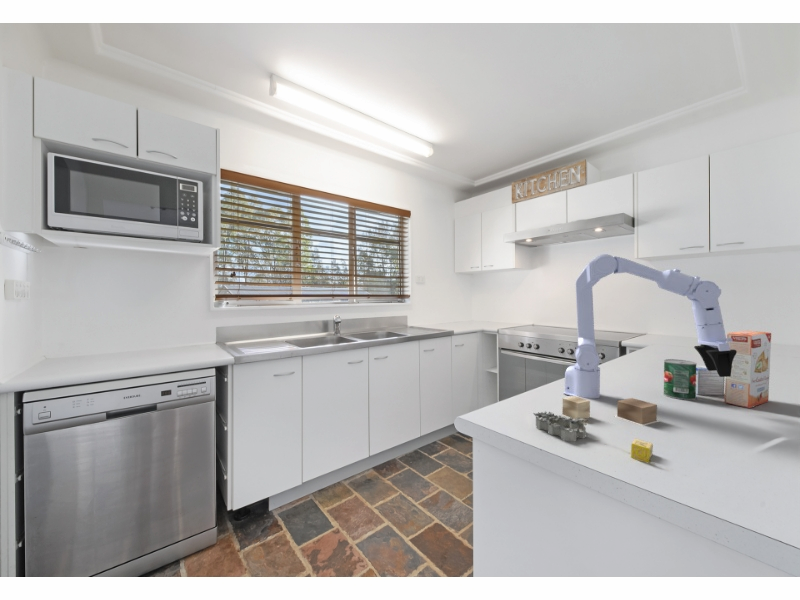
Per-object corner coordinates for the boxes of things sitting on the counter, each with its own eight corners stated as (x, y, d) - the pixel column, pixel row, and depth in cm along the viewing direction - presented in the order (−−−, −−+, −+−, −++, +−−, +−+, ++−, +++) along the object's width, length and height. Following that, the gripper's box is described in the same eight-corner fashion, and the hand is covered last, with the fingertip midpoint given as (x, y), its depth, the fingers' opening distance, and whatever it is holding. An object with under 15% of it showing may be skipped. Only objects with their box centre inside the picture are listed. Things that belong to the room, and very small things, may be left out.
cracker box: (751, 409, 95) (753, 334, 94) (723, 403, 100) (724, 332, 100) (771, 402, 101) (772, 331, 101) (743, 396, 107) (744, 329, 106)
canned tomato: (657, 392, 112) (658, 358, 111) (684, 393, 110) (685, 359, 110) (673, 399, 104) (674, 363, 103) (702, 400, 103) (703, 364, 102)
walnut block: (617, 416, 88) (617, 401, 88) (631, 412, 90) (631, 397, 90) (642, 424, 82) (642, 408, 82) (656, 420, 85) (656, 404, 85)
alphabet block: (652, 458, 67) (653, 442, 67) (649, 463, 65) (649, 448, 65) (634, 453, 70) (634, 438, 70) (630, 458, 67) (630, 442, 67)
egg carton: (591, 438, 77) (591, 420, 77) (567, 444, 74) (568, 426, 74) (552, 421, 87) (552, 406, 87) (530, 426, 84) (530, 410, 83)
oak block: (562, 417, 90) (562, 398, 89) (574, 414, 91) (574, 396, 91) (577, 423, 85) (577, 403, 85) (589, 420, 87) (590, 400, 87)
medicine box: (713, 392, 112) (713, 365, 112) (724, 396, 107) (725, 368, 107) (687, 391, 112) (687, 365, 112) (697, 395, 108) (698, 368, 108)
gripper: (740, 324, 85) (751, 378, 85) (716, 320, 98) (725, 366, 98) (705, 327, 88) (715, 380, 88) (686, 323, 101) (695, 368, 101)
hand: (718, 373), depth 93 cm, fingers open, 7 cm apart
